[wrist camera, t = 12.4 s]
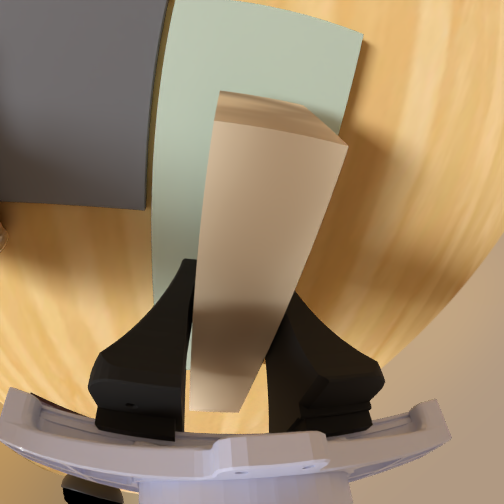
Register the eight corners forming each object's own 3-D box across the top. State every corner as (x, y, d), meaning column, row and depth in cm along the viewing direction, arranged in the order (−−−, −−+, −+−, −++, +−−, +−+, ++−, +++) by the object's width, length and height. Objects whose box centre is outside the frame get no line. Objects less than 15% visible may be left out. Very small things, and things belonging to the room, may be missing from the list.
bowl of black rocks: (102, 466, 54) (99, 524, 39) (135, 480, 66) (135, 528, 51) (52, 454, 54) (46, 505, 39) (88, 472, 66) (84, 516, 51)
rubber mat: (-32, 197, 12) (-36, 200, 12) (-30, -1, 4) (-34, -1, 4) (146, 206, 14) (144, 210, 14) (184, -58, 7) (183, -61, 6)
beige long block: (191, 349, 19) (189, 410, 15) (219, 90, 9) (213, 121, 5) (235, 352, 19) (238, 412, 16) (303, 105, 9) (348, 146, 6)
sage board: (161, 356, 22) (159, 366, 21) (179, 1, 9) (176, -4, 8) (256, 363, 24) (257, 372, 23) (354, 35, 10) (363, 34, 9)
